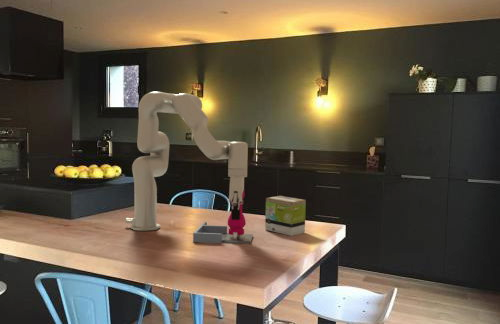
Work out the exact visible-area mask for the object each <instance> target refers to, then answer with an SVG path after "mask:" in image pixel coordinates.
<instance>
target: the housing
mask: <svg viewBox="0 0 500 324" xmlns="http://www.w3.org/2000/svg"><path fill="white" fill-rule="evenodd" d="M207 222H208V221H203V222H202V223H201V225H199V227H197V228H196V230H194V232H193V233H192V234H193V235H192V242H193V243H206V244H207V243H210V244H211V243H212V244H222V236H223V234H224V233H228V225H215V224H214V225H212V224H211V225H210V224H209V225H208V224H207Z"/></svg>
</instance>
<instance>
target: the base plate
mask: <svg viewBox="0 0 500 324" xmlns="http://www.w3.org/2000/svg"><path fill="white" fill-rule="evenodd" d="M253 237H254V234H253V233H251V234H250V233H244V234H243V235H237V232H233V235H230V234H229V232H227V233H224V234H223V235H222V243H223V244H244V245H245V244H246V245H248V244H251V243H252V240H253ZM222 243H221V244H222Z"/></svg>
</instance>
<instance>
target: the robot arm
mask: <svg viewBox="0 0 500 324" xmlns="http://www.w3.org/2000/svg"><path fill="white" fill-rule="evenodd" d="M202 109H203V103H202V100H201V98H200V97H199V96H198V95H195V94H191V93H179V94H175V93H169V92H168V93H167V92H162V91H150V92H148V93H146V94H144V95H143V96H142V98H141V99H140V101H139V104H138V125H137V127H138V129H137V140H136V141H137V149H138V150H139V152H141V153H144V154H150V155H144V156H139V157H138V158H136V159H134V161H133V163H132V165H131V170H132V177H133V183H134V185H133V186H134V188H133V189H134V190H133V191H134V200H133V201H134V206H133V207H134V211H133V212H134V214H133V215H134V217H132V218H130V217H126V218H125V220H124V222H125V223H126V224H131V225H130V229H131V230H132V229H133V230H132V231H138V232H146V231H147V232H148V231H156V230H158V229H160V228H161V224H160V223H157V217H158V215H157V213H158V212H157V211H158V210H157V206H158V205H157V204H158V201H157V200H158V199H157V198H158V196H157V194H158V192H157V191H158V186H157V182H156V180H155V178H157V177H161V176H164V174H166V173H167V171H168V167H169V158H170V157H169V156H170V141H169V137H168V136H167V134H166V133H165V132H162V131H159V125H160V122H159V117H158V114H157V113H166V114H167V113H168V114H178V115H179V117H180V118H181V119H182V120H183V121H184V122H185V124H186V125H187V126H188V128H189V129H190V130H191V134H192V137H193V140H194V142H195V144H196V145H197V147H198V148H199V150H200V151H201V152H202V153H203V154H204V155H205V156H206V158H208V159H210V160H213V161H218V160H227V159H228V164H227V167H228V170H227V172H228V173H227V175H228V176H227V177H229V191H228V193H229V194H228V202H230V203H231V201H232V200H233V202H232V204H231V211H232V220H239V219H240V210H239V206H240V202H241V201H242V195H243V190H244V191H245V178H248V155H249V153H248V151H249V150H248V149H249V148H248V147H249V146H248V145H249V144H248V143H247V142H245V141H229V140H216V138H215V137H213V135H212V134H211V132H210V131H209V129H208V127H207V125H208V124H209V120H210V119H209V117H208V115H207V114H206V113H205V112H204V111H203V110H202ZM237 195H238V196H237ZM237 200H239V202H238V201H237Z"/></svg>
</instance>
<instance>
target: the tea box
mask: <svg viewBox="0 0 500 324" xmlns="http://www.w3.org/2000/svg"><path fill="white" fill-rule="evenodd" d="M306 202H307V201H306V199H302V198H297V197H289V196H283V195H277V196H271V197H266V198H265V217H264V219H265V222H264V223H265V225H264V226H265V228H264V229H265V231H270V232H274V233H279V234H281V235H286V236H290V237H292V236H293V237H294V236H297V235H300V234H304V233H306V206H307V205H306Z"/></svg>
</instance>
